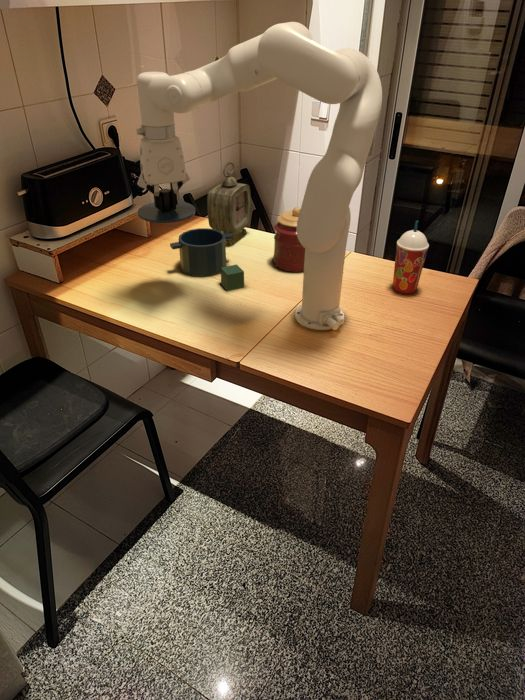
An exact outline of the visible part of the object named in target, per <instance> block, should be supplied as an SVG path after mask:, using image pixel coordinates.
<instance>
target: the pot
mask: <svg viewBox="0 0 525 700" xmlns="http://www.w3.org/2000/svg"><path fill="white" fill-rule="evenodd" d="M223 233H224V232H221V231H218V230H215V229H212V228H208V227H207V228H206V227H205V228H203V227H201V228H193V229H189V230H186V231H184V232H182V233H180V234H179V235H178V241H176V242H170V243H169V247H170V248H171V250H178V252H179V262H180V268H181V271H182V272H183V273H184V274H185V275H186V274H187V275H189V276H192V277H199V278H200V277H201V278H205V277H212V276H217V275H218V274H221V268H222V267H227V247H226V245H227V244H226V240H227V241H228V239H230V240H233V239H234V234H231V233H226V234H223Z"/></svg>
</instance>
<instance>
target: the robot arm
mask: <svg viewBox="0 0 525 700" xmlns="http://www.w3.org/2000/svg"><path fill="white" fill-rule="evenodd" d="M275 80H278V81H280V82H282V83H284V84H285V85H287V86H289V87H291V88H293V89H295V90H297V91H299V92H301V93H303V94H305V95H307V96H309V97H310V98H312V99H314V100H316V101H319V102H320V103H323V104H328V105H338V104H339V108H338V112H337V115H336V117H335V120H334V124H333V127H332V131H331V136H330V139H329V142H328V146H327V149H326V152H325V154H324V155H323V157H322V158H321V159H320V160H319V161H318V162H317V163H316V164H315V166H313V169H312V170H311V173H310V175H309V177H308V180H307V184H306V188H305V191H304V195H303V199H302V202H301V205H300V209H301V210H300V214H299V217H298V221H297V228H296V230H297V237H298V239H299V241H300V243H301V245H302V246H303V247H304V248H305V260H304V271H303V277H302V293H301V294H302V295H301V296H302V297H301V305H299V306H298V307H297V308H296V310H295V312H294V318H295V321H296V322H297V323H298V324H300V325H301V326H303V327H304V328H307V329H310V330H314V331H328V330H333V331H337V330H338V329H339V328H340V326H341V325H343V324H345V313H344V311H343V310H342V308H341V307H340V303H341V295H342V286H343V277H344V266H345V258H346V251H347V243H348V238H349V233H350V228H351V227H350V226H351V219H352V218H351V209H350V204H351V201H352V198H353V196H354V193H355V192H356V190H357V188H358V187H359V185H360V183H361V181H362V179H363V175H364V170H365V167H366V163H367V160H368V156H369V154H370V150H371V148H372V145H373V140H374V136H375V133H376V130H377V126H378V123H379V120H380V116H381V112H382V105H383V104H382V103H383V87H382V82H381V78H380V74H379V72H378V70H377V68H376V67H375V65H374V64H373V62H372V61H371V60H370V59H369V58H368V57H367V56H366V54H364V53H363V52H362V51H360V50H357V49H355V48H349V47H348V48H347V47H346V48H340V49H338V50H337V49H336V50H333V49H331V48H328V47H327V46H324V45H323V44H320V43H319V42H316V41H314V40H313V36H312V34H311V32H310V30H309V29H308V27H306V26H305V25H304V24H303V23H301V22H297V21H287V22H282V23H275V24H274V25H272V26H270V27H269V28H267V29H266V30H265V31H264V32H263V33H261V34H259V35H257V36H255V37H252V38H250V39H248V40H245V41H243V42H240V43H238V44H236V45H234V46H232V47H231V48H230V49H228V52H227V53H226V55H224V56H222V57H221V58H219V59H217V60H214V61H212V62H210V63H208V64H205V65H203V66H200V67H199V68H196V69H193V70H189V71H185V72H182V73H178V74H174V75H173V74H172V75H169V73H167V72H164V71H143V72H141V73H138V75H137V78H136V87H137V96H138V103H139V104H138V105H139V112H140V118H141V119H140V122H141V124H140V127H139V128H136V129H135V132H136V135H137V136H141V137H142V138H140V145H139V159H140V160H139V162H140V163H139V165H140V174H139V178H138V180H137V183H136V184H137V186H138V187H139V188H142V189H144V190H147V191H149V192H150V193H151V194H153V202H154V203H155V207H156V208H157V209H158V210H159V211H160V212H162V211H163V205H162V196H161V195H160V193H159V190H160V185H165V184H169V190H170V191H171V201H172V208H173V209H174V210H176V205H178V201H179V200H178V193H179V191H180V189H181V188H182V187H183V186H184V185H185V184H186V183H187V182H189V181H190V179H191V178H190V176H189V175H188V173H187V171H186V163H185V157H184V152H183V148H182V143H181V139H180V136H178V135H176V125H175V124H176V123H175V113H176V114H186V113H189V112H192V111H194V110H197V109H199V108H201V107H204V106H207V105H209V104H211V103H213V102H216V101H218V100H221V99H224V98H226V97H229V96H231V95H234V94H237V93H241V92H242V93H245V92H248V91H251V90H254V89H256V88H258V87H260V86H262V85H265V84H268V83H270V82H274V81H275Z"/></svg>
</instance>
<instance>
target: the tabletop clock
mask: <svg viewBox="0 0 525 700" xmlns="http://www.w3.org/2000/svg"><path fill="white" fill-rule="evenodd" d="M229 165H232V170H231V171H229V170H228V171H227V173H225V171H226V168H227V167H228V166H229ZM234 171H235V164H234V162H233V161H228V162H226V163H225V165H224V167H223V170H222V175H223V176H224V178H223V179H222V180H221V183H220V184H218V185H216V186H214V187H212V188H211V189H210V190H209V191H208V193H207V197H206V198H207V199H206V201H207V203H206V204H207V205H206V206H207V221H208V225H209V227H210V229H215V230H218V231H221V232H222V233H223V234H226V233H231V234H232V235H237V234H238V233H240V232H241V233H242V234H247V229H246V227H247V226H248V225H249V223H250V221H251V214H252V213H251V212H252V195H251V187H250V185H249V184H247V183H240V182H238V181H237V179H236V178H235V177H233V176H232V175H233V173H234ZM232 244H233V240H232V239H228V240H227V243H226V245H228V246H231V245H232Z"/></svg>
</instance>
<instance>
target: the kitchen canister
mask: <svg viewBox="0 0 525 700" xmlns="http://www.w3.org/2000/svg"><path fill="white" fill-rule="evenodd" d="M300 210H301V207H299V206H298V207H297V206H296V207H294V208H293V209H292V210H288V211H284V212H283V213H281V214H280V215H278V217H277V219H276V221H277V222H276V223H275V224H274V225H273V226H274V230H275V234H274V235H273V239H274V245H273V246H274V248H273V262H274V265H275V267H276V268H278V269H280V270H282V271H286V272H293V273H299V272H304V260H305V248H304V247H303V246H302V245H301V243H300V241H299V239H298V237H297V230H296V228H297V221H298V217H299V214H300Z"/></svg>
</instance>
